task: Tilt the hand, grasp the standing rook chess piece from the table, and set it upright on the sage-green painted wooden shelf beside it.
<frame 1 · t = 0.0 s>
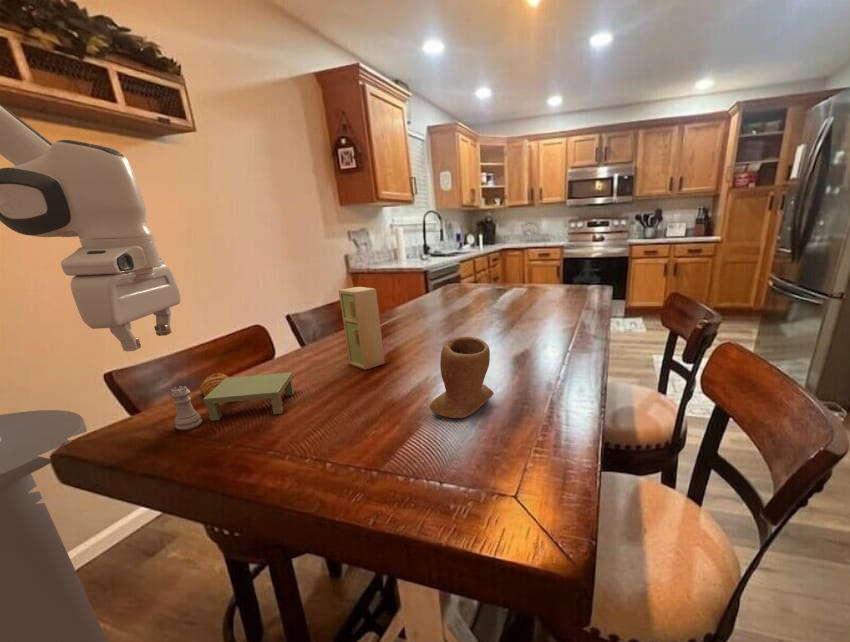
hand: (149, 341, 68), 19 cm above the table, tool pointing down, fingers open, 8 cm apart
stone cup: (466, 407, 86), on the table
shelf: (255, 405, 89), on the table
pastry: (219, 393, 96), on the table
rook chess piece: (189, 426, 80), on the table
toy refrigerator: (365, 365, 113), on the table
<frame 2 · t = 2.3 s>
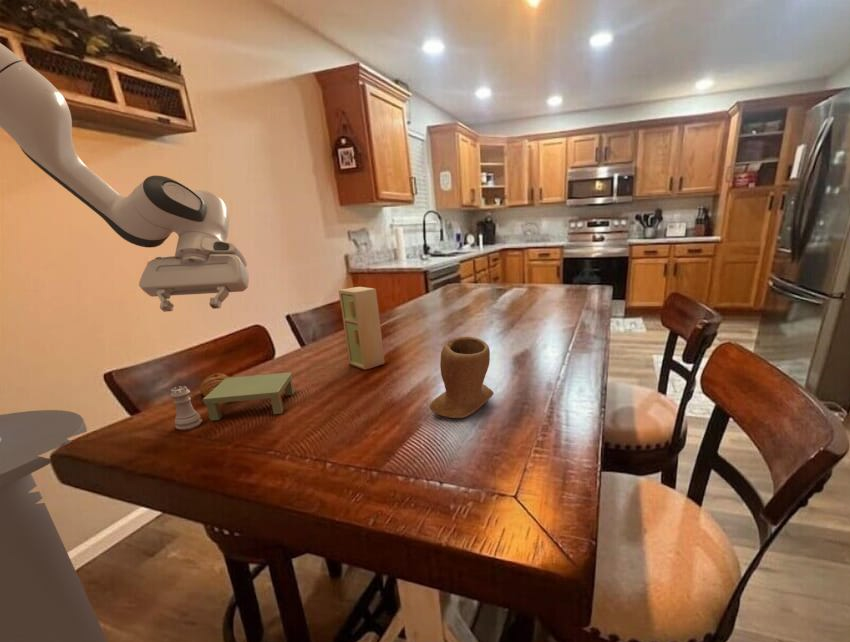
hand: (190, 308, 84), 21 cm above the table, tool tilted 45°, fingers open, 8 cm apart
nothing on the table moved.
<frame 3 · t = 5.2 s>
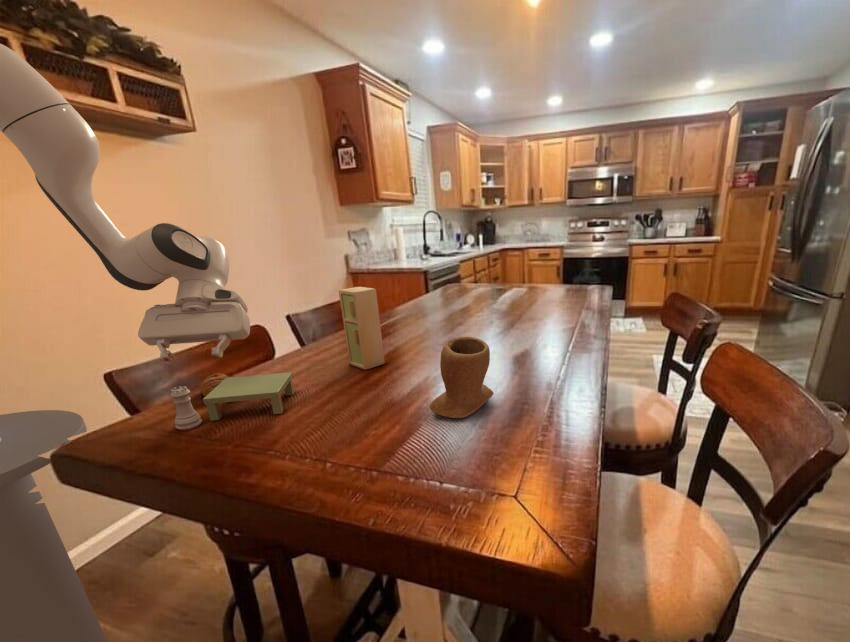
hand: (191, 358, 83), 12 cm above the table, tool tilted 45°, fingers open, 8 cm apart
nothing on the table moved.
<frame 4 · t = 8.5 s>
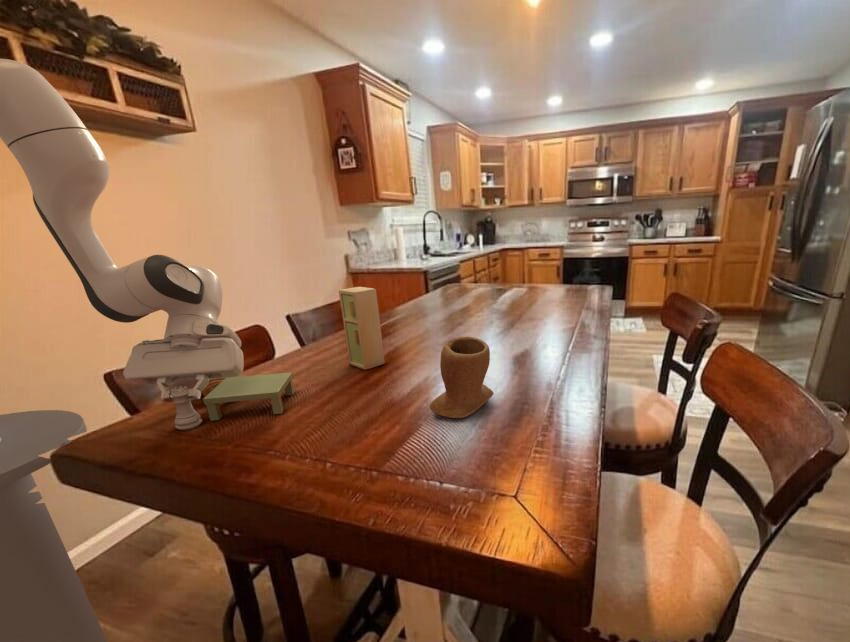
hand: (180, 399, 78), 6 cm above the table, tool tilted 45°, fingers closed on rook chess piece, 3 cm apart
rook chess piece: (189, 426, 80), on the table, touching gripper
everything else where it was.
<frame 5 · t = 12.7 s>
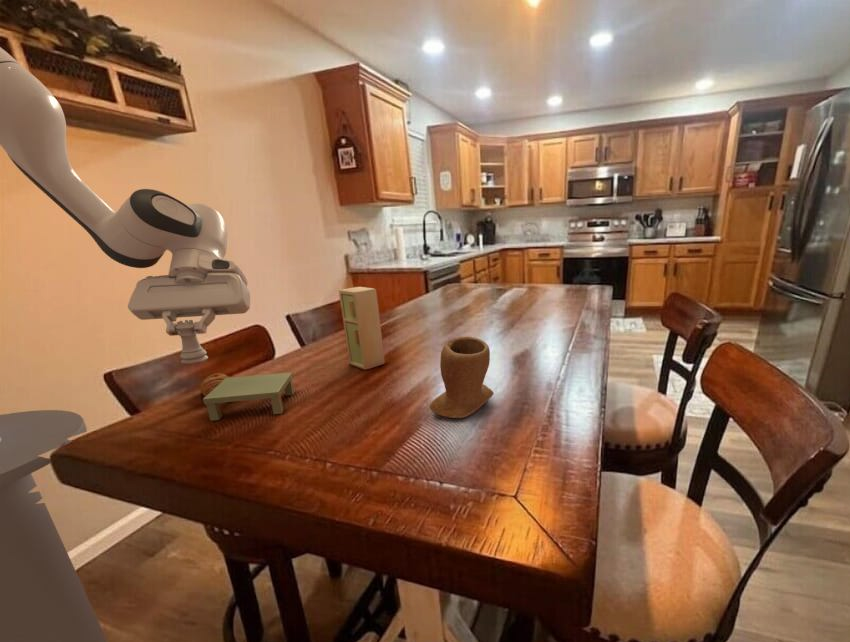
hand: (186, 333, 76), 18 cm above the table, tool tilted 45°, fingers closed on rook chess piece, 3 cm apart
rook chess piece: (195, 362, 79), point 12 cm above the table, touching gripper
everything else where it was.
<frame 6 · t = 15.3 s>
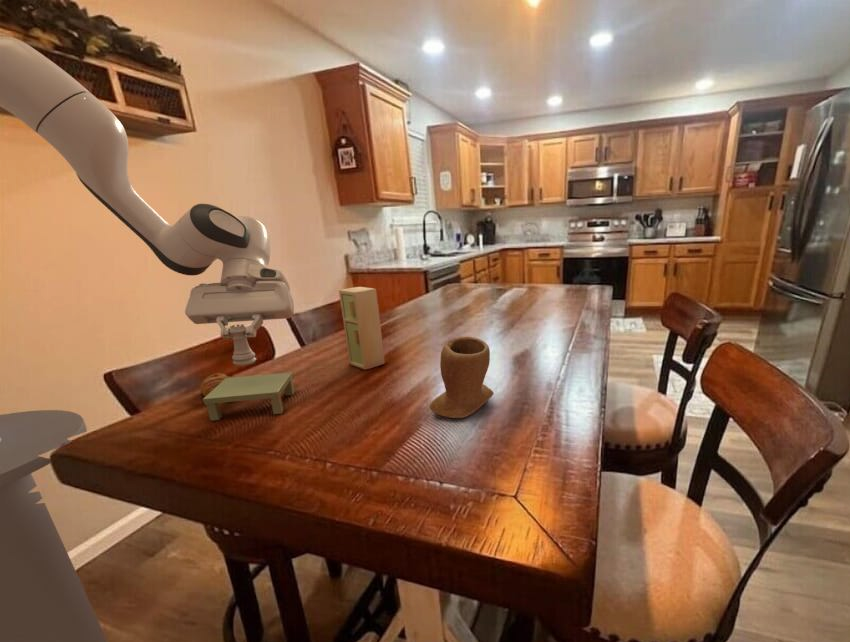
hand: (238, 336, 83), 16 cm above the table, tool tilted 45°, fingers closed on rook chess piece, 3 cm apart
rook chess piece: (245, 363, 85), point 10 cm above the table, touching gripper
everything else where it was.
when the fingers open (11 cm above the table, at t = 17.3 s): rook chess piece stays where it is, resting on shelf.
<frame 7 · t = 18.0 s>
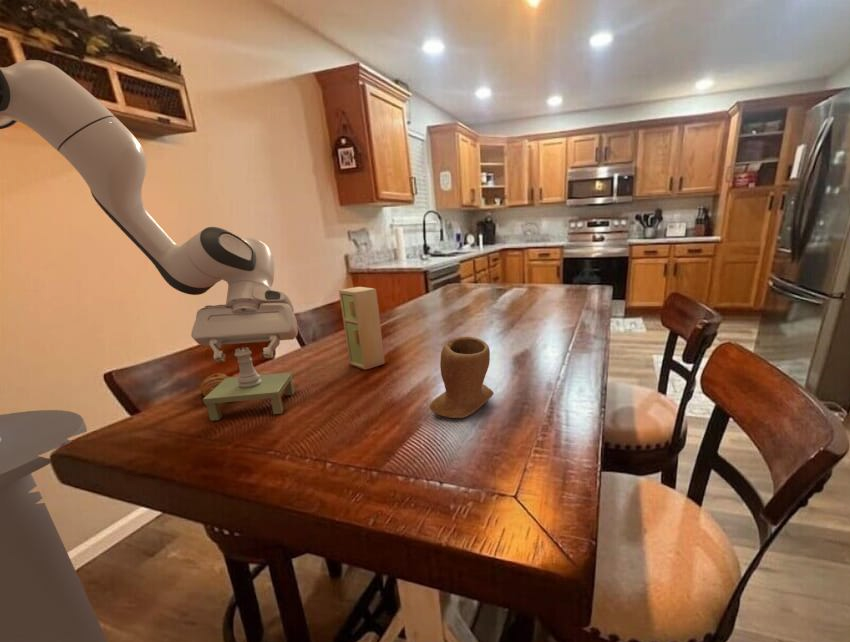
hand: (243, 358, 84), 11 cm above the table, tool tilted 45°, fingers open, 8 cm apart
rook chess piece: (250, 385, 87), point 5 cm above the table, touching shelf
everything else where it was.
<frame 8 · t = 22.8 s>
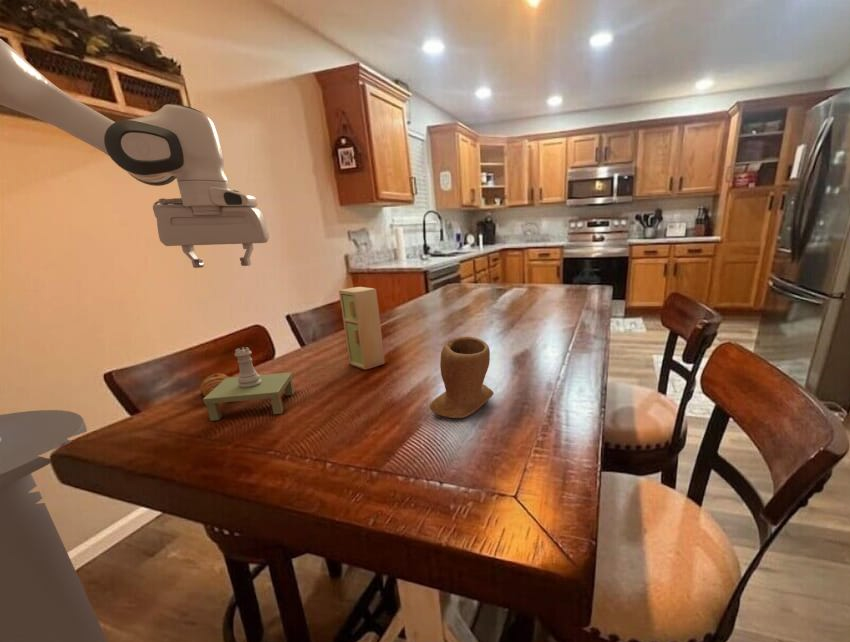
hand: (222, 266, 88), 29 cm above the table, tool pointing down, fingers open, 8 cm apart
nothing on the table moved.
at the end: rook chess piece inside the target area (0.1 cm from its centre), point 4.8 cm above the table; rook chess piece tilted 0°; the gripper is holding nothing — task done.
